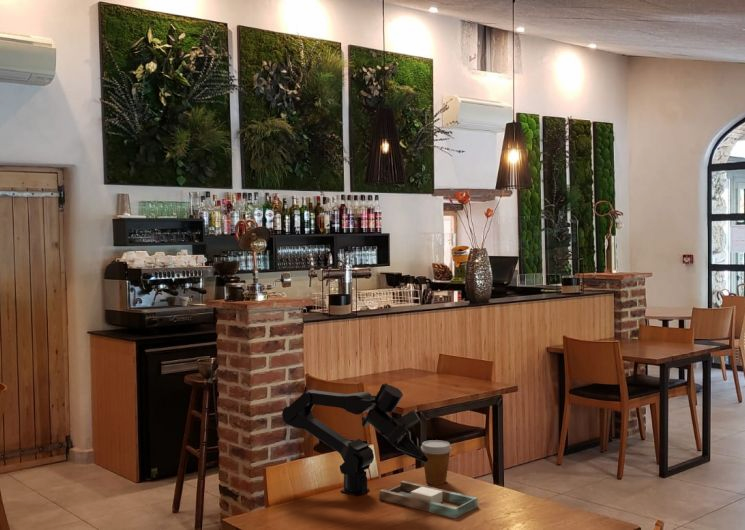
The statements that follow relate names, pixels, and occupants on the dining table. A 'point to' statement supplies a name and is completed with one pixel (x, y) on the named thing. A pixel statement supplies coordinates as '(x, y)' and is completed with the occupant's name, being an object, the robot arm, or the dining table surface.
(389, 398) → the robot arm
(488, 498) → the dining table surface
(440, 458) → the disposable coffee cup
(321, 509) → the dining table surface
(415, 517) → the dining table surface
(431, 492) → the ivory block
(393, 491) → the box
